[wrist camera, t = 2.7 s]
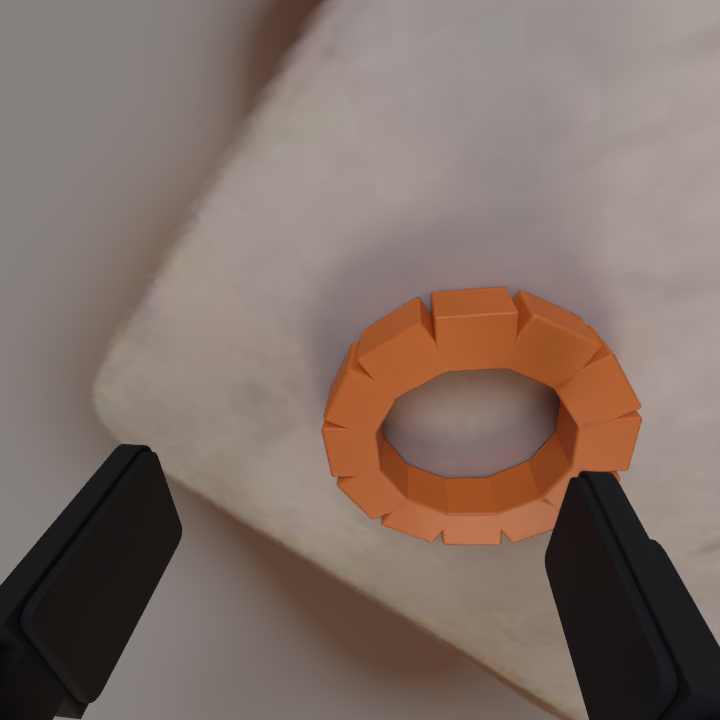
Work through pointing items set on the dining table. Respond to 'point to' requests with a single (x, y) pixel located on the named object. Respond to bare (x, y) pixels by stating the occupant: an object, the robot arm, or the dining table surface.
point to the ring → (477, 352)
